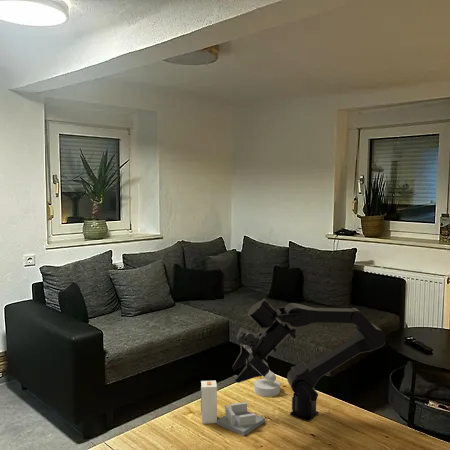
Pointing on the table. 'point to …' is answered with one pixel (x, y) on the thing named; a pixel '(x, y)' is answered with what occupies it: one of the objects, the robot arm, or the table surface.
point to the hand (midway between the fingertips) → (234, 375)
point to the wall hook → (267, 385)
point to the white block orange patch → (209, 401)
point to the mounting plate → (243, 428)
